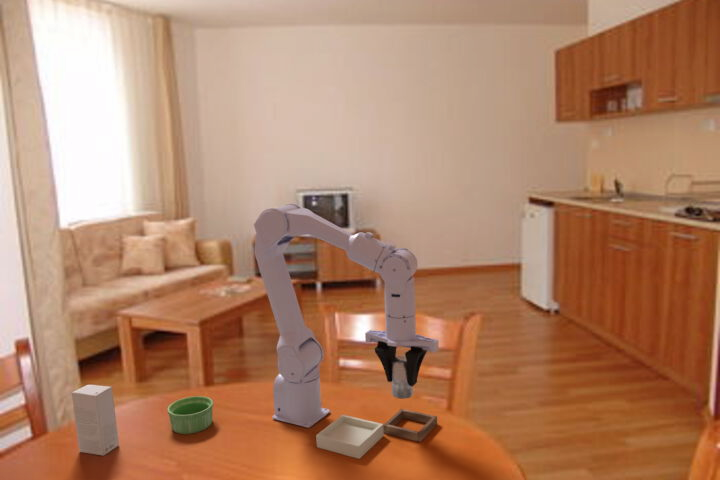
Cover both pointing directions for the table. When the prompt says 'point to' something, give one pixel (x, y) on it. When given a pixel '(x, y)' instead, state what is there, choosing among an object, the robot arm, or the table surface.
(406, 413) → the walnut collar
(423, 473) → the table surface
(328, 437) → the beige shallow square tray
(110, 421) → the skincare box
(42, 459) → the table surface
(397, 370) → the dowel pin
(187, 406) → the ramekin
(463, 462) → the table surface
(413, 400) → the table surface
